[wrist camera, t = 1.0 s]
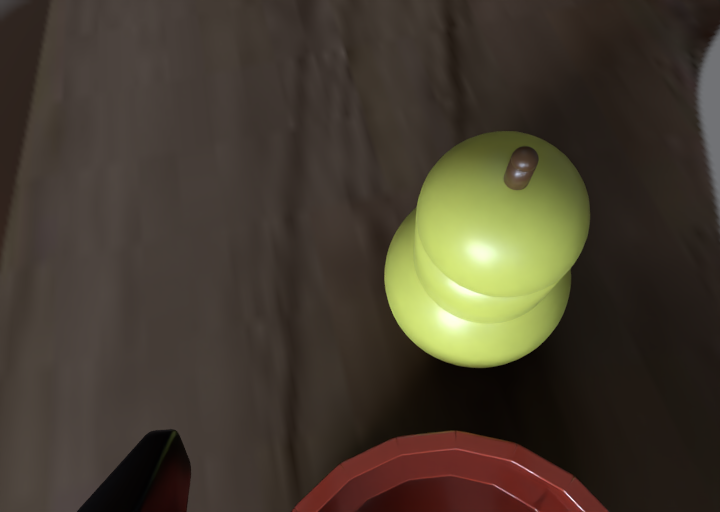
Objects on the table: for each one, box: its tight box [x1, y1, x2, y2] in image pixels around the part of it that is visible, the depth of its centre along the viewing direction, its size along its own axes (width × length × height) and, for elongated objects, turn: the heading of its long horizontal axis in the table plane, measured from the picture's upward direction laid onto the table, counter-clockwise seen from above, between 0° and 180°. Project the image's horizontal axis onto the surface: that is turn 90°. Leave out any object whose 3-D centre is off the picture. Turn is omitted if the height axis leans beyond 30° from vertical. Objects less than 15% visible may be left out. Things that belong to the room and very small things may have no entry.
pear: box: [384, 131, 590, 368], centre depth 18 cm, size 7×7×12 cm
